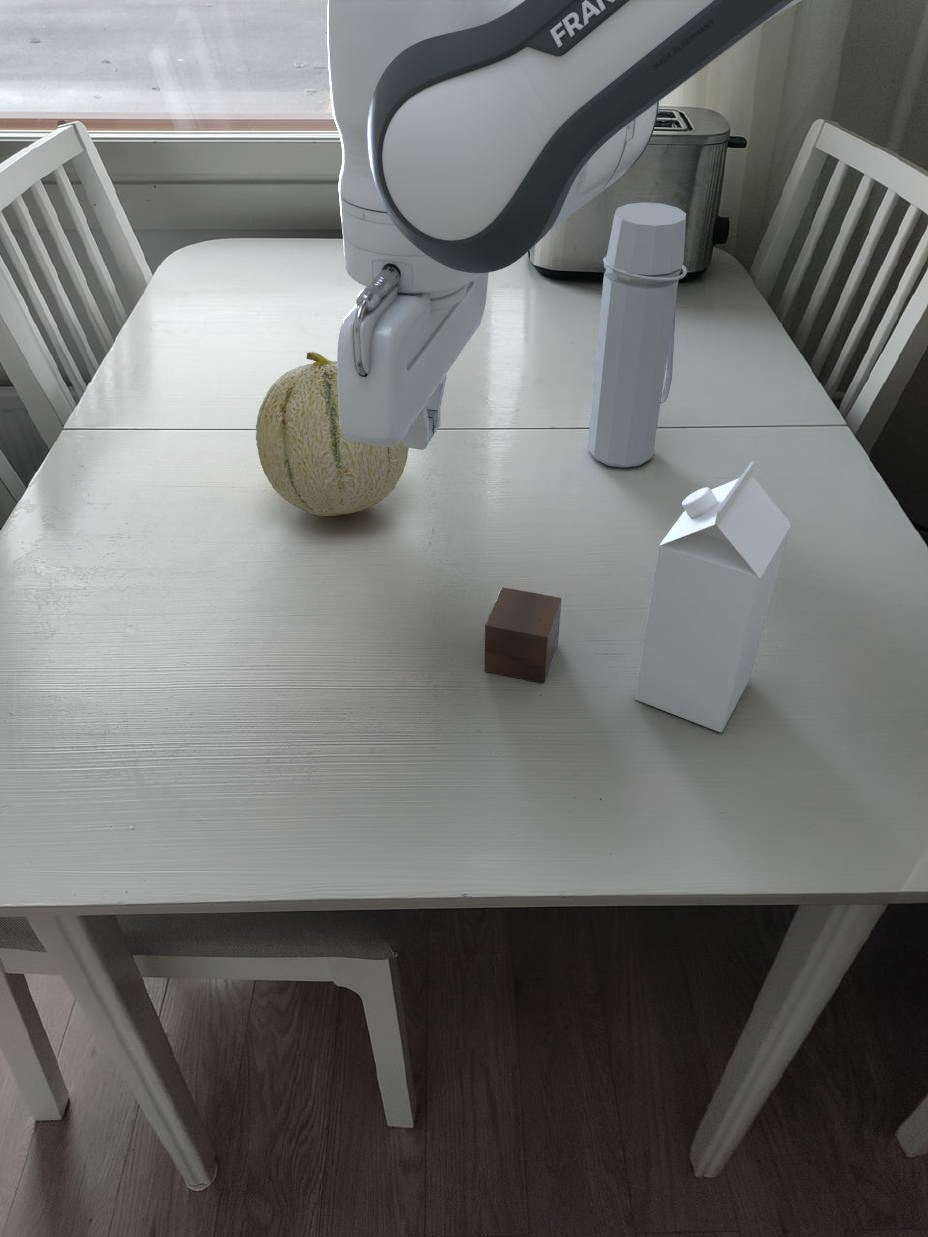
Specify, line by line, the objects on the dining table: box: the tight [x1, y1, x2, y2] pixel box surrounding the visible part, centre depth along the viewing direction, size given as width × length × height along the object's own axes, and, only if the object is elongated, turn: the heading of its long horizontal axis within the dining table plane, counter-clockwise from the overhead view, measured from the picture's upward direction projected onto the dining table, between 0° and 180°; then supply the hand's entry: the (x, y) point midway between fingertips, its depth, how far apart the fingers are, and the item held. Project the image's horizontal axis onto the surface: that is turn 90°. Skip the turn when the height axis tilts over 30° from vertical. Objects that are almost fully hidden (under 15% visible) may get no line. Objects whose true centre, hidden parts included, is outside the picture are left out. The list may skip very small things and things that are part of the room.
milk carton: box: [634, 460, 792, 733], centre depth 69 cm, size 7×7×19 cm
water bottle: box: [587, 201, 688, 469], centre depth 95 cm, size 9×8×25 cm
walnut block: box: [483, 586, 562, 684], centre depth 77 cm, size 5×5×5 cm
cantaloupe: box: [255, 351, 410, 517], centre depth 91 cm, size 15×15×15 cm
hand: (422, 438), depth 68 cm, fingers closed
